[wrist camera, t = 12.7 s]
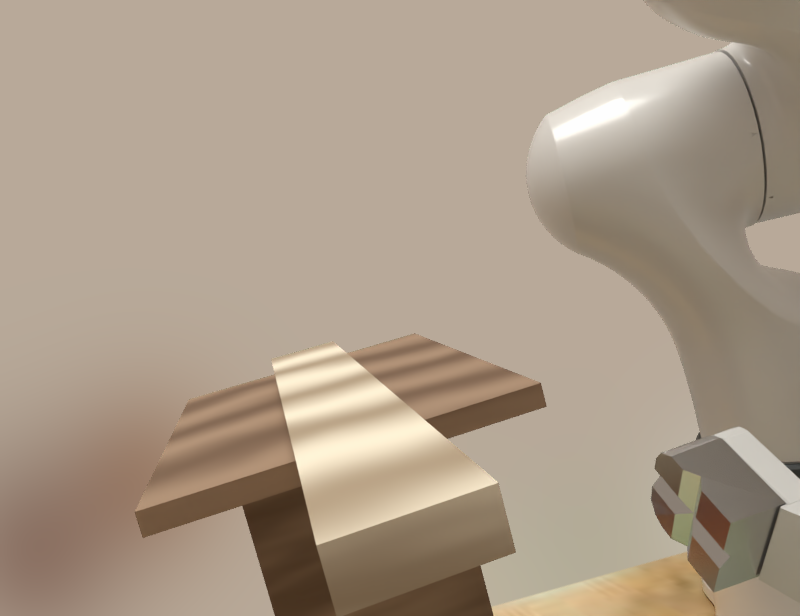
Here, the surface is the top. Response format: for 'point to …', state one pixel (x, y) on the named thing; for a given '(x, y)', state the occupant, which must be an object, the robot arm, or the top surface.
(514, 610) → the top surface
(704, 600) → the top surface
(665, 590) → the top surface
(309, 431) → the birch slat
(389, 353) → the walnut stand
